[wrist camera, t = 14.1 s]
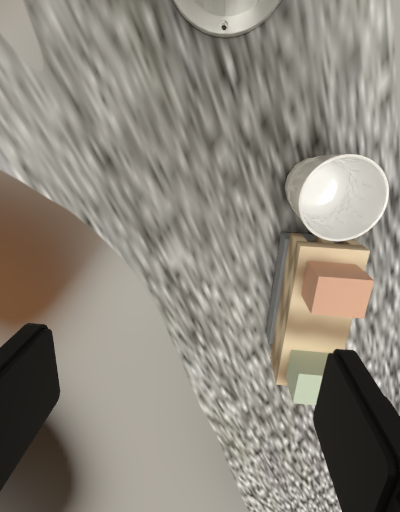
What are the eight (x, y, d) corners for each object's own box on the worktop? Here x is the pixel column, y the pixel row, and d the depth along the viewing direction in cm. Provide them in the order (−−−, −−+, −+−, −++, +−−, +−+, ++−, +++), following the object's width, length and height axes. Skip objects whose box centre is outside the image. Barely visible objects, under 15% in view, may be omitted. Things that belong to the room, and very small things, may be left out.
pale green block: (290, 349, 36) (298, 373, 32) (334, 353, 36) (347, 378, 32) (285, 376, 37) (292, 403, 34) (327, 380, 37) (339, 407, 33)
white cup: (330, 137, 35) (370, 135, 26) (356, 197, 37) (401, 215, 28) (268, 173, 37) (284, 184, 28) (296, 228, 39) (320, 255, 30)
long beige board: (290, 232, 36) (300, 246, 32) (350, 236, 36) (369, 250, 31) (270, 357, 43) (276, 384, 38) (321, 362, 42) (333, 389, 38)
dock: (280, 232, 39) (285, 239, 37) (344, 236, 39) (353, 243, 36) (266, 331, 45) (269, 344, 42) (322, 336, 44) (328, 349, 41)
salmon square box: (307, 260, 32) (318, 276, 28) (356, 264, 32) (374, 280, 28) (301, 295, 34) (311, 314, 30) (347, 298, 33) (363, 318, 30)
